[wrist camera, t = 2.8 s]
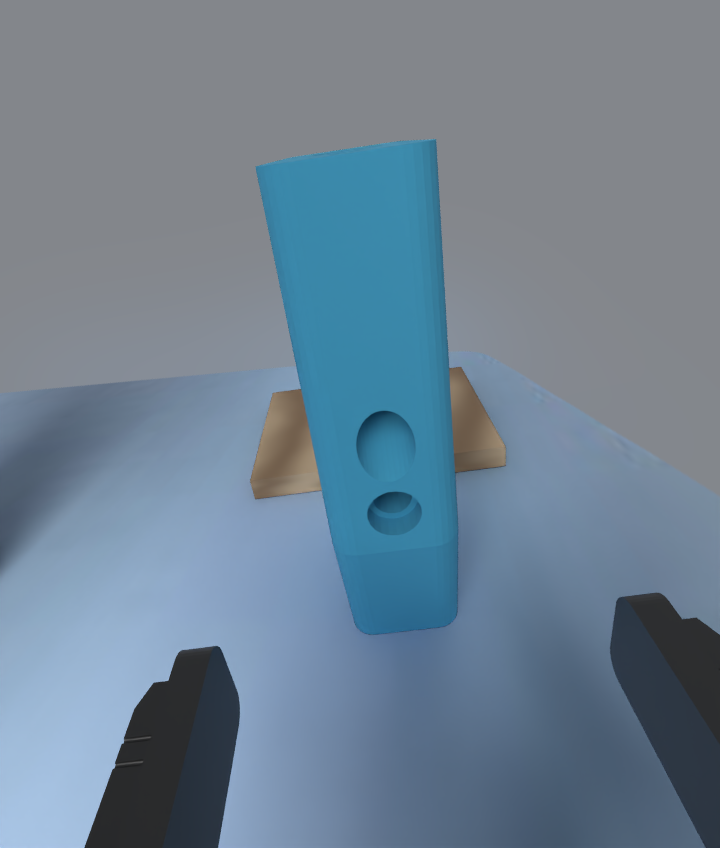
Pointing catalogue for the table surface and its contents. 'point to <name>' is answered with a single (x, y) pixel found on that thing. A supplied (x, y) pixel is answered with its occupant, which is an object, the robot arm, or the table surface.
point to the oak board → (295, 460)
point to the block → (373, 368)
